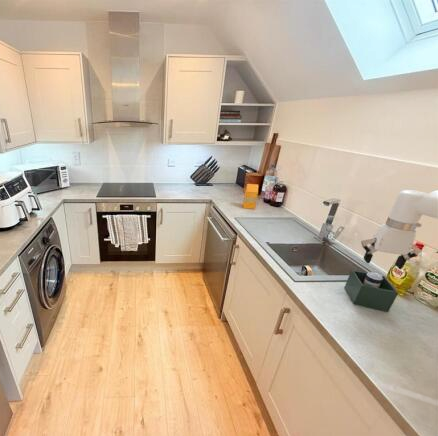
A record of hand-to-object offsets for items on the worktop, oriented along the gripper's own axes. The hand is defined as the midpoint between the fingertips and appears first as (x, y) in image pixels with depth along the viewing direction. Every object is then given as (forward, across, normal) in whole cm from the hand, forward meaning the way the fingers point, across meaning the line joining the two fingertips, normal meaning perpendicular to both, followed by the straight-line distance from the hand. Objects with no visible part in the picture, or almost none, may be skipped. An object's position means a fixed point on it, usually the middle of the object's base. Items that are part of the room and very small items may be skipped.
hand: (381, 263), depth 92 cm
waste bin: (+18, 0, 0) cm, 18 cm away
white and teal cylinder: (+17, 0, 0) cm, 17 cm away
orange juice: (+10, +47, -98) cm, 110 cm away
